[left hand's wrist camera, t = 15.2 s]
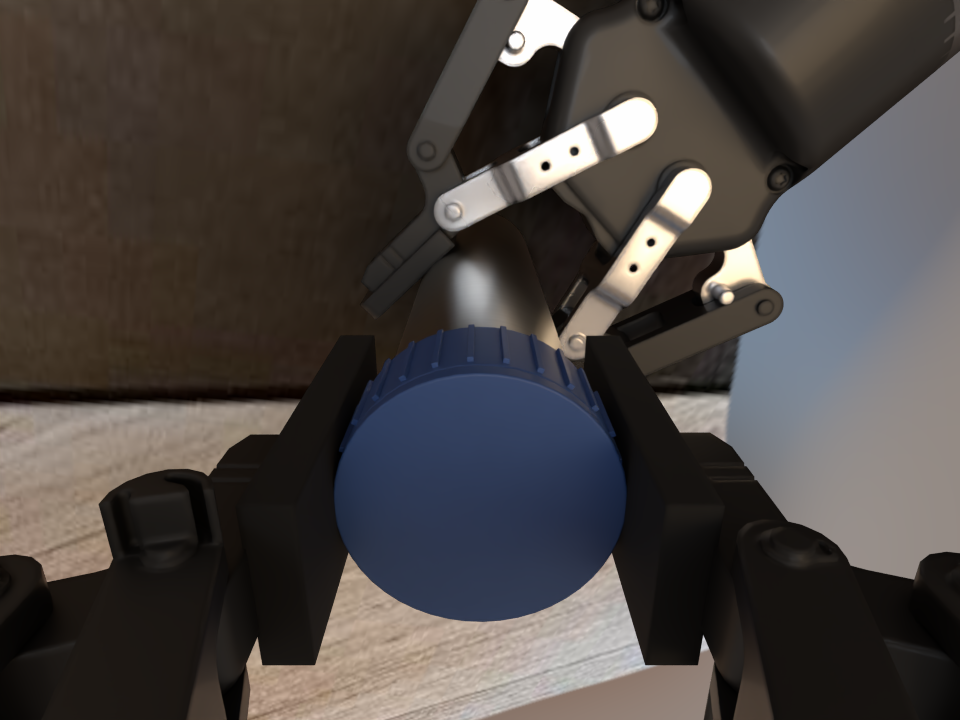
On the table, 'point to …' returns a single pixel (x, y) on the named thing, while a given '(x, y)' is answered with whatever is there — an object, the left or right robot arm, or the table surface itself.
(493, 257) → the grey metal cylinder
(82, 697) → the left robot arm
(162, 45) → the table surface
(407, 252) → the right robot arm
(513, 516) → the lid
